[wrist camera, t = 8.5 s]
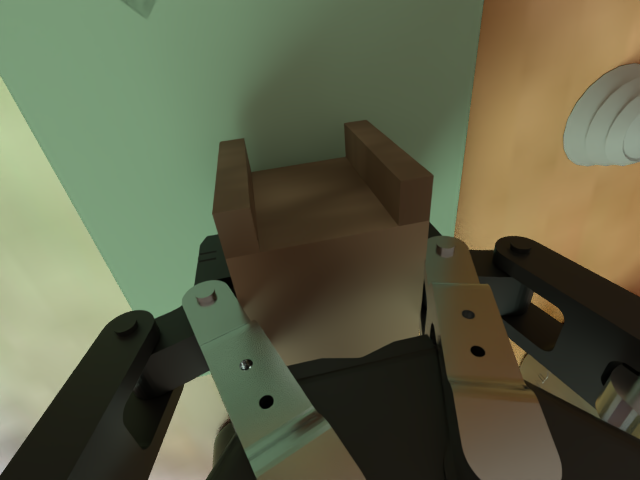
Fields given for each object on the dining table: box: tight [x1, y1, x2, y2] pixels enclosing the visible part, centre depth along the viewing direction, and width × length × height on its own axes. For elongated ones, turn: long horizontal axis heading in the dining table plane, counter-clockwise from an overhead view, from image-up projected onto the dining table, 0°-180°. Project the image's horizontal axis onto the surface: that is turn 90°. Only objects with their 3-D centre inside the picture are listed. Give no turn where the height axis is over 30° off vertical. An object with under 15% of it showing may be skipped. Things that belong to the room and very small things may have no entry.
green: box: [0, 0, 484, 377], centre depth 13 cm, size 15×24×4 cm, turn 6°
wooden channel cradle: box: [212, 120, 434, 366], centre depth 12 cm, size 5×6×5 cm
